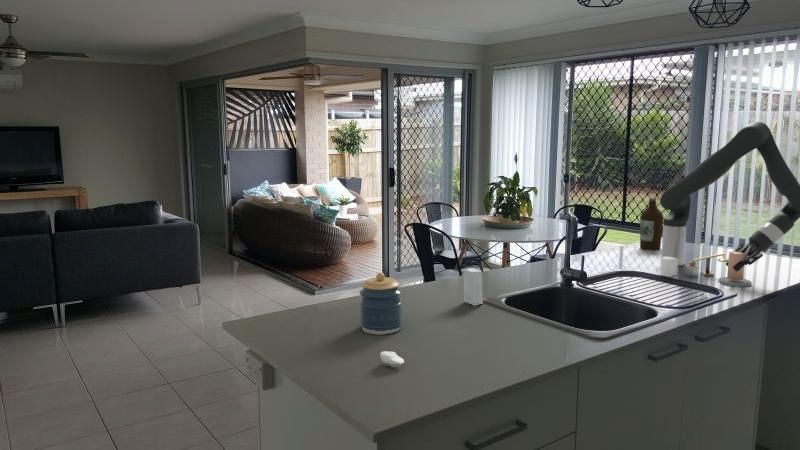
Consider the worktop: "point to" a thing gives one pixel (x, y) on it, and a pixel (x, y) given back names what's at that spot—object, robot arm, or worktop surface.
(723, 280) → the dish
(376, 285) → the canister
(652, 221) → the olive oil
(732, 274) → the wooden block
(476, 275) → the skincare box
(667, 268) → the shot glass
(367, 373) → the worktop surface
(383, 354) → the dumpling
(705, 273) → the balance
